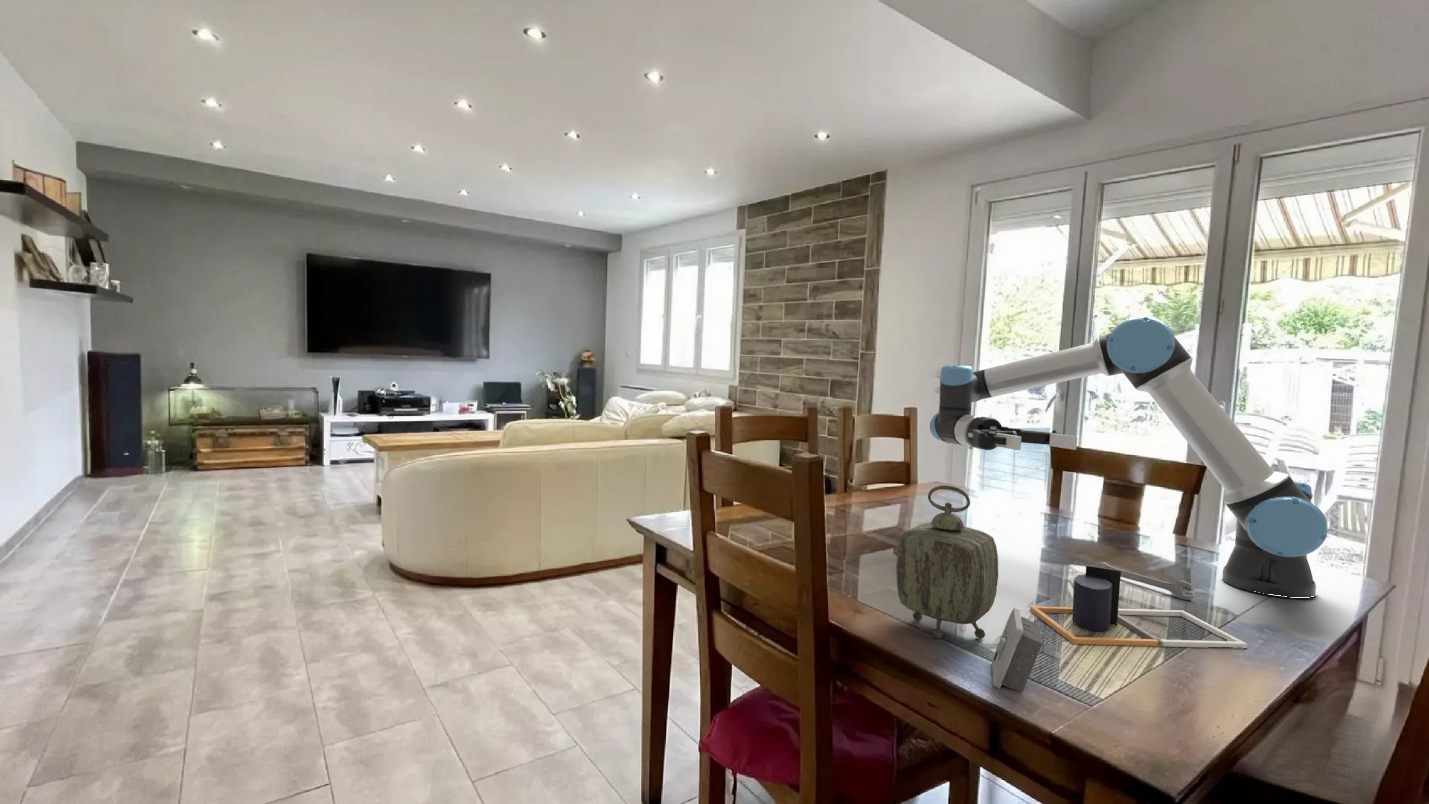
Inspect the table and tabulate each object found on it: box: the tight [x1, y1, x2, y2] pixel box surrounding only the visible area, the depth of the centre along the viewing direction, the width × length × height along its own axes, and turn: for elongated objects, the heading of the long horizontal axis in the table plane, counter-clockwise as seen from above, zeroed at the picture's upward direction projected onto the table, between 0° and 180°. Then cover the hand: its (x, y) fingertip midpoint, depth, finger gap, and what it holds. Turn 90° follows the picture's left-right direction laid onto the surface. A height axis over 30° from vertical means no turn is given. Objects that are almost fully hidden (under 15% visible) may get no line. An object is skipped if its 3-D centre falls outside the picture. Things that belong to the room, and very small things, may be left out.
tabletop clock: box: [895, 485, 999, 640], centre depth 108 cm, size 14×9×25 cm, turn 50°
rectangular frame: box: [1029, 605, 1248, 649], centre depth 114 cm, size 28×15×1 cm, turn 90°
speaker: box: [1071, 564, 1122, 633], centre depth 114 cm, size 8×6×10 cm
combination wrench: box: [1096, 561, 1196, 601], centre depth 137 cm, size 4×1×20 cm
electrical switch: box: [991, 607, 1043, 693], centre depth 93 cm, size 9×5×9 cm, turn 158°
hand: (1047, 443), depth 132 cm, fingers open, 13 cm apart
